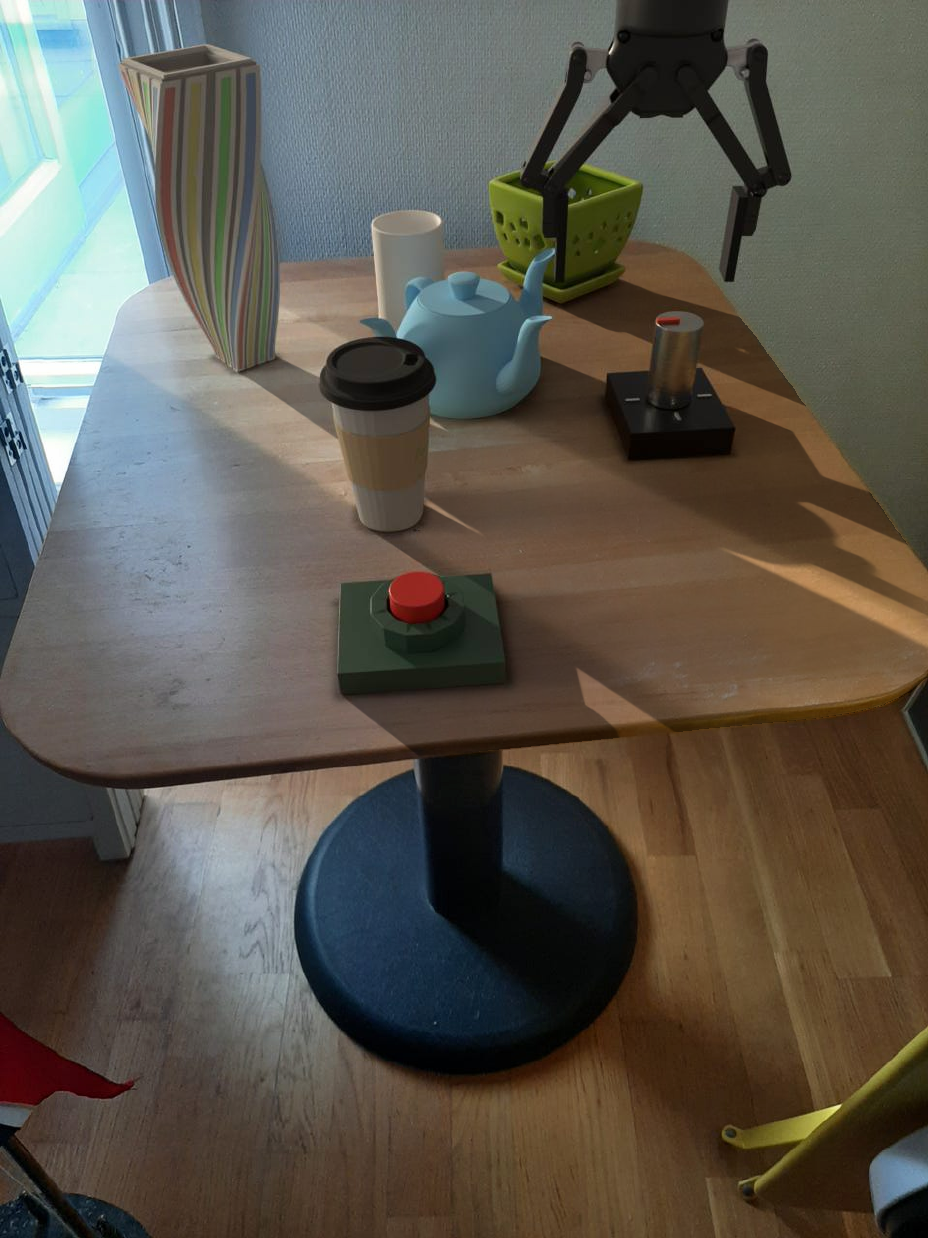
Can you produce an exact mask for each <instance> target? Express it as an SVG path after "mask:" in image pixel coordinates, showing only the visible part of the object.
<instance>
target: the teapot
mask: <svg viewBox="0 0 928 1238" xmlns="http://www.w3.org/2000/svg"><path fill="white" fill-rule="evenodd" d="M554 254H555V248H551V249H548V250H545V251H543V252H542V253H540V254H539V255H538V256H537V257H535V258H534V260H533V261H532V262H531V264H530V266H529V268H528V270H527V273H526V276H525V280H524V284H523V287H522V289H521V293H520V296H519V299H518V300H517V299H516V298H515V297H514V296H513V294H512V293H511V291H510V290H509V289H507V288H506V287H505V286H504V285H502V284H500V283H499V282H497V281H493V280H490V279H486V278H481V276H480V275H479V274H477V273H476V272H471V271H457V272H454V273H451V274H449V275H448V277H447V279H446V278H445V280H442V281H439V282H436V283H434V282H433V281H432V280H431V279H429V278H427V277H417V278H414V279H412V280H411V281H409V282H408V284H407V285H406V288H405V302H406V308H407V313H406V315H405V317H404V319H403V321H402V323H401V325H400V327H399V329H398V332H397V334H396V333H395V331H394V329H393V327H392V326H391V324H390V323H389V322H388V321H386V320H384V319H381V318H379V317H368V318H363V319H360V320H359V323H360V324H362V325H364V326H366V327H368V328H370V329H371V330H372V331H373V332H374V334H375V337H394V338H400V339H404V340H407V341H410V342H412V343H414V344H416V345H418V346H419V347H420V348H421V349H422V350H423V352H424V354H425V357H426V358H427V359H428V360H429V361H430V362H431V363H432V365H433V367H434V373H435V375H436V384H435V387H434V388H433V390H432V391H431V392H430V393H429V406H430V415H434V416H437V417H441V418H447V419H454V420H455V419H456V420H470V419H471V420H472V419H481V418H486V417H492V416H495V415H498V414H501V413H504V412H506V411H508V410H510V409H512V408H513V407H515V406H517V404H519V403H520V402H521V401H522V400H523V399H524V398H525V397H527V395H528V394H530V392H532V390H533V389H534V388H535V386H536V385H537V383H538V381H539V378H540V376H541V371H542V365H541V364H542V363H541V361H542V360H541V353H540V347H539V338H540V337H539V336H540V331H541V329H542V328H543V326H544V325H545V324H547V323H548V322H549V321H551V320H552V319H553V316H551V315H544V299H543V298H544V296H543V293H542V287H543V277H544V272H545V270H546V267H547V265H548V263H549V262H550V260H551V258H552V257H553V256H554Z"/></svg>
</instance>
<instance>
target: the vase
mask: <svg viewBox="0 0 928 1238" xmlns="http://www.w3.org/2000/svg"><path fill="white" fill-rule="evenodd" d="M116 65H117V68H118V70H119V73H120V75H121V78H122V80H123V83H124V85H125V87H126V89H127V92H128V94H129V96H130V99H131V101H132V103H133V105H134V107H135V109H136V111H137V114H138V116H139V118H140V120H141V122H142V124H143V126H144V128H145V131H146V133H147V136H148V139H149V142H150V145H151V151H152V157H153V163H154V197H155V198H154V199H155V211H156V219H157V223H158V224H157V226H158V230H159V236H160V239H161V244H162V248H163V251H164V253H165V257H166V260H167V264H168V266H169V269H170V272H171V274H172V276H173V279H174V281H175V284H176V285H177V288H178V290H179V291H180V293H181V295H182V298H183V300H184V302H185V303H186V305H187V307H188V309H189V311H190V312H191V314H192V316H193V318H194V319H195V321H196V323H197V325H198V326H199V327H200V329H201V331H202V333H203V334H204V336H205V337H206V339H207V341H208V342H209V345H210V346H211V348H212V350H213V353H214V355H215V358H217V359H218V360H219V361H221V362H223V363H224V364H225V365H227V366H228V367H230V368H231V369H232V370H233V371H235V372H236V373H239V372H242V371H245V370H247V369H251V368H254V367H255V366H257V365H261V364H264V363H266V362H270V361H273V360H275V359H276V340H277V331H278V323H279V313H280V299H281V260H280V259H281V257H280V243H279V236H278V227H277V222H276V214H275V209H274V204H273V200H272V195H271V192H270V187H269V183H268V180H267V176H266V172H265V170H264V166H263V164H262V161H261V149H262V147H261V146H262V84H261V83H262V82H261V81H262V80H261V65H260V64H258V63H257V61H255V60H253V58H252V57H249V56H246V55H242V54H240V53H237V52H234V51H231V50H227V49H224V48H221V47H218V46H215V45H212V44H208V43H205V44H198V45H193V46H187V47H182V48H175V49H170V50H165V51H158V52H153V53H147V54H141V55H136V56H129V57H124V58H121V61H120V60H119V63H117V64H116Z"/></svg>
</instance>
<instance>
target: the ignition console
mask: <svg viewBox="0 0 928 1238" xmlns="http://www.w3.org/2000/svg"><path fill="white" fill-rule="evenodd" d="M426 573H428V572H426ZM429 573H430V574H432V575H435V576H436V577H437V578H439V579H440V580H441V582H442V584H443V587H444V603H445V606H444V610H443V612H442V613H441V615H440V616H439V617H438V618H436V619H435V620H432V621H430V622H428V623H418V624H408V623H405V622H402V621H400V620H398V619H397V618H396V617H395V616H394V615H393V613H392V612H391V607H390V597H389V588H390V585H391V583H392V582H393V581H394V580H395V579H396V578H397V577H399V576H401V575H403V574H404V573H402V574H400V575H398V576H395V577H393V578H391V579H383V580H382V579H380V580H367V581H352V582H340V583H339V606H338V607H339V608H338V637H337V639H338V640H337V671H336V672H337V673H336V675H337V680H338V681H337V682H338V687H339V692H340V693H339V694H340V695H341V696H342V695H353V694H355V695H356V694H370V693H381V692H395V691H409V690H410V691H411V690H425V689H439V688H452V687H453V688H454V687H464V686H481V685H493V684H494V685H495V684H505V683H506V657H505V650H504V645H503V638H502V631H501V625H500V619H499V612H498V606H497V601H496V594H495V588H494V580H493V575H492V574H493V573H491V572H487V573H473V574H456V575H438V574H435V573H431V572H429Z"/></svg>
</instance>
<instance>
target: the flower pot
mask: <svg viewBox="0 0 928 1238" xmlns="http://www.w3.org/2000/svg"><path fill="white" fill-rule="evenodd" d="M556 160H557V159H554V160H552V161H551V160H550V161H547V162H546V164H545V166H544V168H543V170H546V171H548V170H549V169H550V168H551V166H552V165H553V164H554V163H555V162H556ZM520 170H521V169H519V170H516V171H513V172H508V173H507V174H504V175H500V176H498V177H495V178H493V179H491V180H490V181H489V183H488V194H489V205H490V213H491V217H492V218H491V219H492V223H493V227H494V232H495V235H496V238H497V241H498V243H499V246H500V248H501V250H502V253H503V255H504V257H505V259H506V260H504V261H501V262H500V263H498V264H497V268H498V270H499V272H500V274H501V275H502V276H503V277H504V278H505V279H506V280H509V281H510V282H512V283H513V284H516V285H518V286H519V287H522V288H523V284H524V280H525V276H526V273H527V270H528V268H529V266H530V264H531V262H532V261H533V260H534V258H535V257H537V256H538V255H539V254H540V253H542V252H543V251H545V250H548V249H551V248H555V238H544V235H543V232H542V204H543V197H542V195H541V193H540V192H538V191H536V190H534V189H526V188H524V187H523V186H522V185H521V181H520ZM564 188H567V191H568V193H569V192H570V190H571V189H572V190H573V191H574V192H575V194H574V196H573V197H572V198H571V196H569V195H568V199H569V200H568V219H567V239H566V259H565V278H564V283H555V277H554V258H555V254H554V256H553V257H552V258H551V260H550V262H549V263H548V265H547V267H546V270H545V272H544V277H543V287H542V293H543V298H545V299H546V298H547V299H549V300H551V301H553V302H556V303H558V304H565V303H566V302H569V301H572V300H574V299H576V298H579V297H582V296H584V295H587V294H588V293H592V292H594V291H596V290H600V289H602V288H604V287H606V286H607V287H609V286H610V285H611V284H613V283H615V282H616V281H617V280H618V279H619V278H620V277H622V275H624V273H625V271H626V270H627V267H626V266H625V265H623V264H621V263H619V262H616V261H617V259H618V257H620V255H621V253H622V251H623V250H624V249H625V247H626V245H627V242H628V240H629V238H630V236H631V233H632V232H633V228H634V226H635V224H636V220H637V217H638V214H639V210H640V207H641V206H640V205H641V202H642V197H643V192H644V183H642V182H641V181H639V180H635V179H633V178H630V177H627V176H625V175H621V174H618V173H616V172H612V171H609V170H606V169H603V168H599V167H597V166H593V165H590V164H586V163H584V164H583V165H582V166H581V168H580V169H579V170H578V171H577V172H576V173H575V175H574V176H573V177H572V178H571V179H570V181H569V182H568V183H567V184H566V185H565V186H564ZM582 199H583V200H582Z"/></svg>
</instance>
